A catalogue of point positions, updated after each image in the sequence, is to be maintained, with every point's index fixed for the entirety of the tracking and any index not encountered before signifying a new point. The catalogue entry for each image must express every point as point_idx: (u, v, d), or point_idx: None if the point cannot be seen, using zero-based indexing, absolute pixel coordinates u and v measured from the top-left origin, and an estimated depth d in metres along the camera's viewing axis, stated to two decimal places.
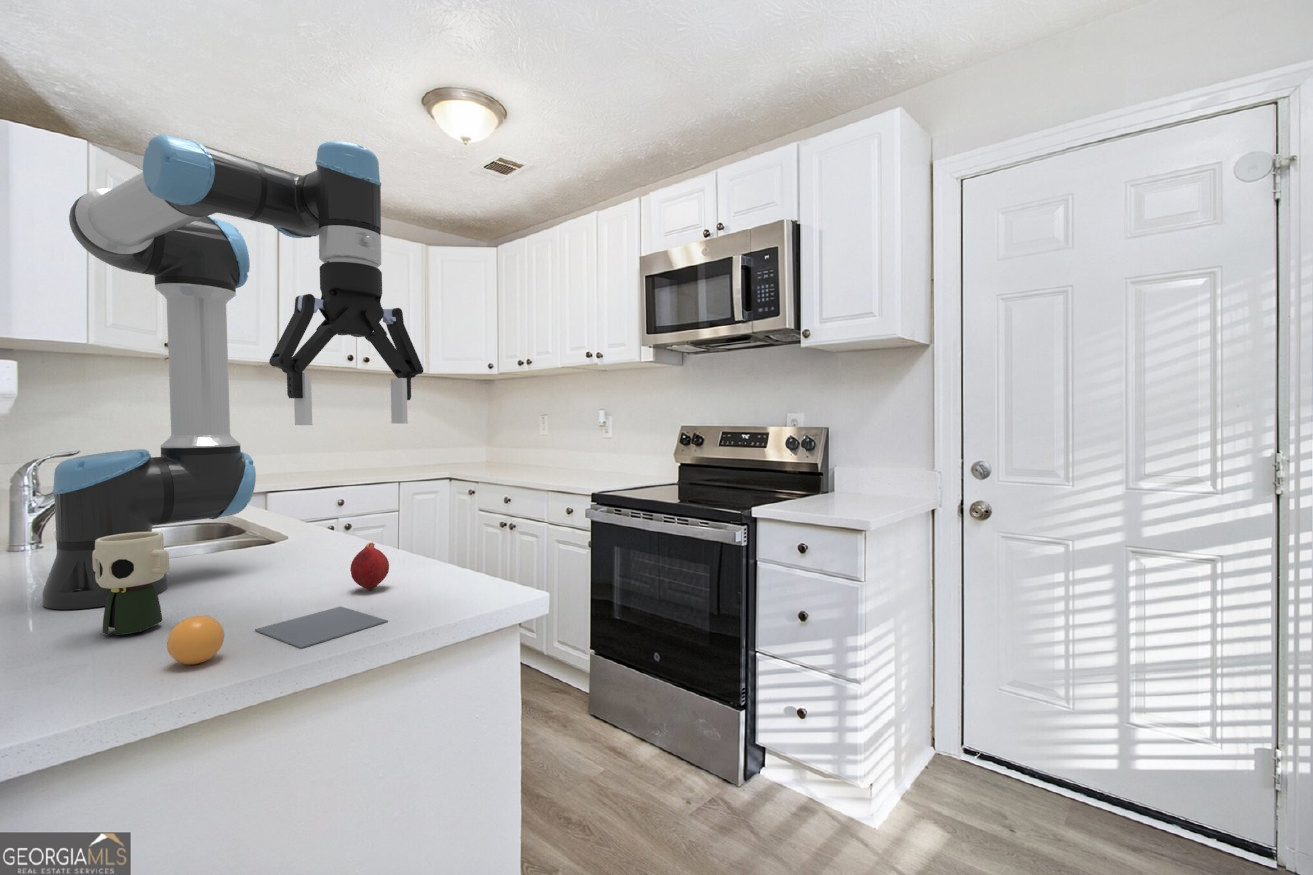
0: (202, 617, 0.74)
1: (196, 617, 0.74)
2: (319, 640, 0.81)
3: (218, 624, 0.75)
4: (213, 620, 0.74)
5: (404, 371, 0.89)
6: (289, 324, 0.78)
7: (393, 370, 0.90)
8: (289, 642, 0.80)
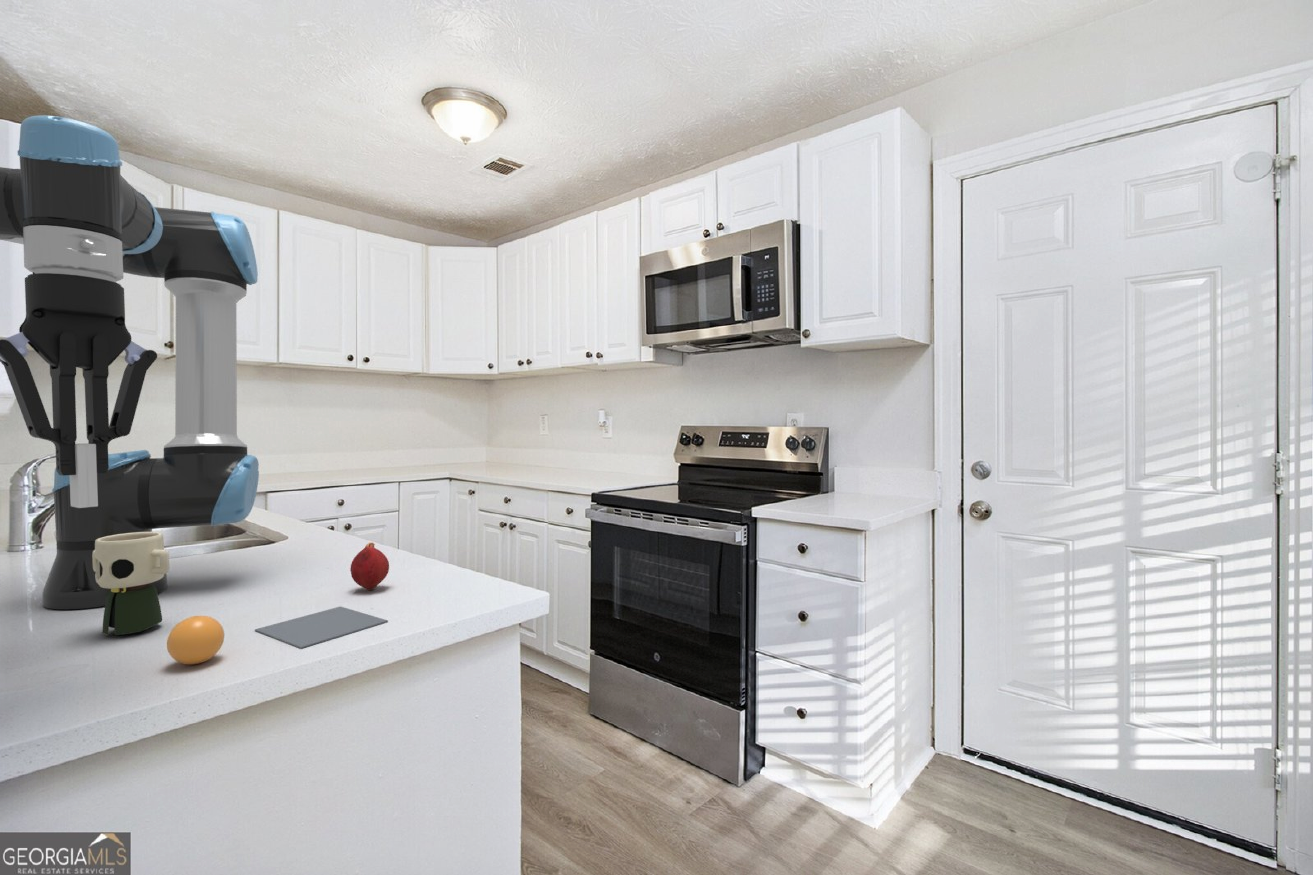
0: (202, 617, 0.74)
1: (196, 617, 0.74)
2: (319, 640, 0.81)
3: (218, 624, 0.75)
4: (213, 620, 0.74)
5: (96, 430, 0.65)
6: (12, 383, 0.61)
7: (87, 426, 0.66)
8: (289, 642, 0.80)
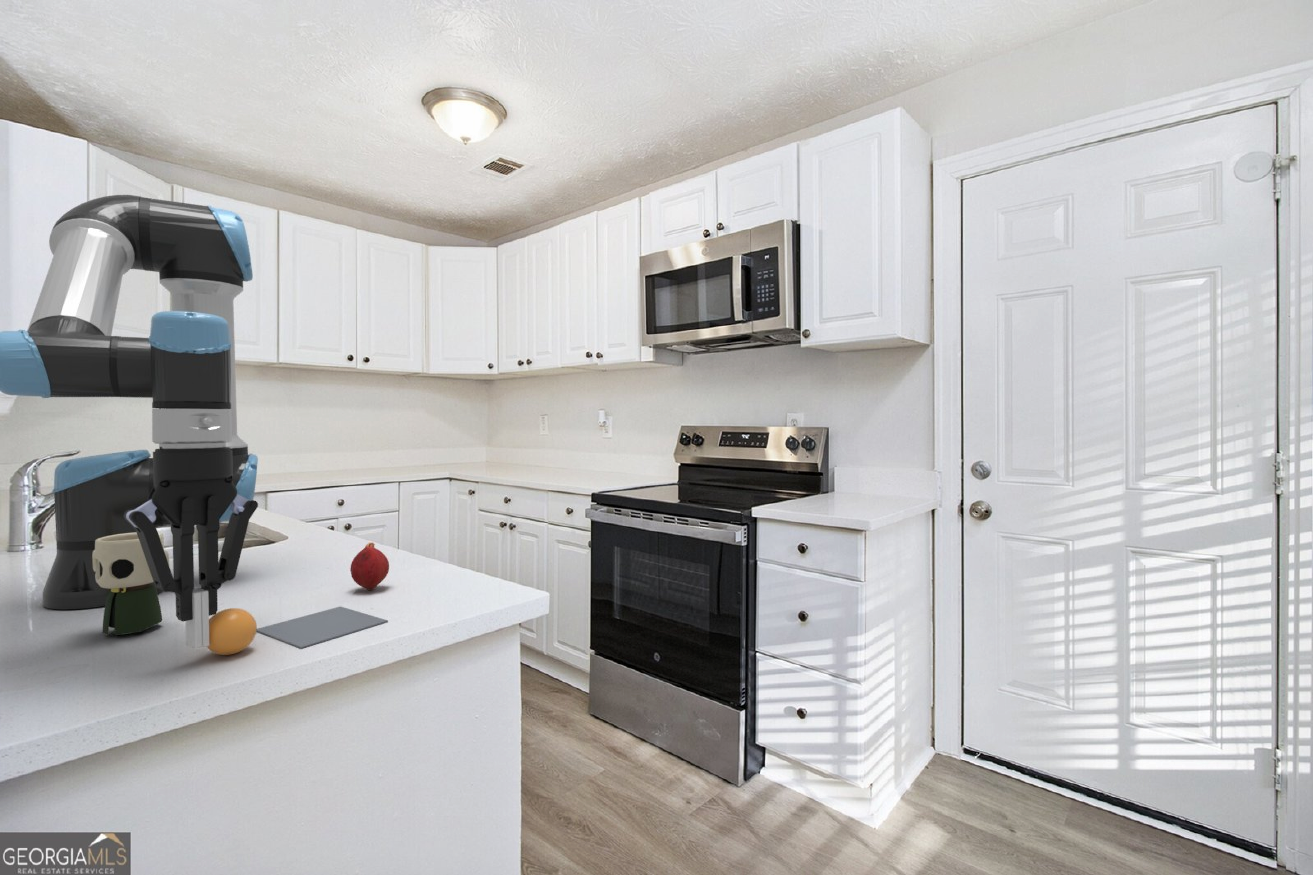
0: (250, 614, 0.78)
1: (246, 611, 0.78)
2: (319, 640, 0.81)
3: (256, 627, 0.78)
4: (255, 621, 0.78)
5: (208, 578, 0.74)
6: (142, 545, 0.70)
7: (200, 573, 0.75)
8: (289, 642, 0.80)
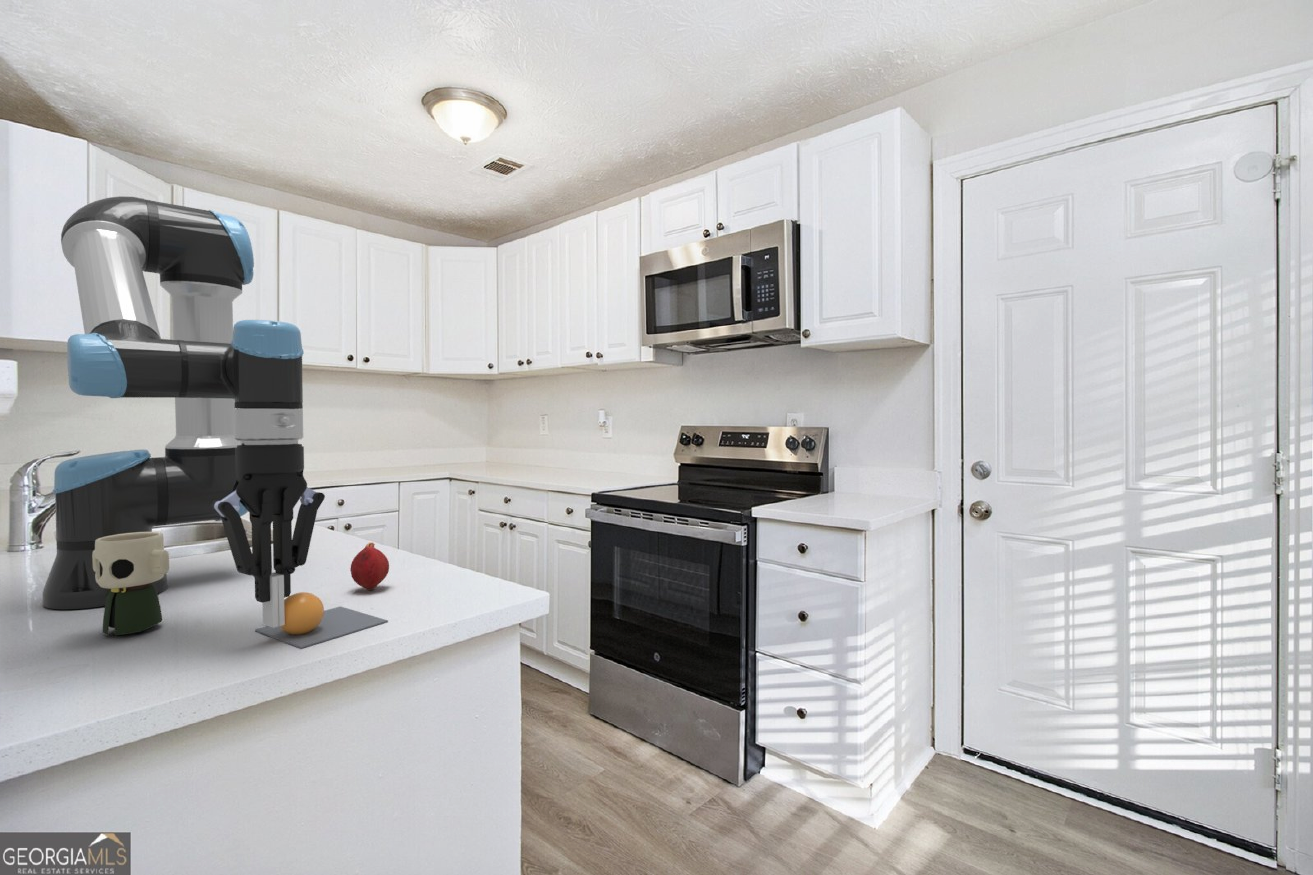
0: None
1: None
2: (319, 640, 0.81)
3: None
4: (318, 624, 0.85)
5: (284, 563, 0.81)
6: (227, 533, 0.77)
7: (274, 559, 0.82)
8: (289, 642, 0.80)
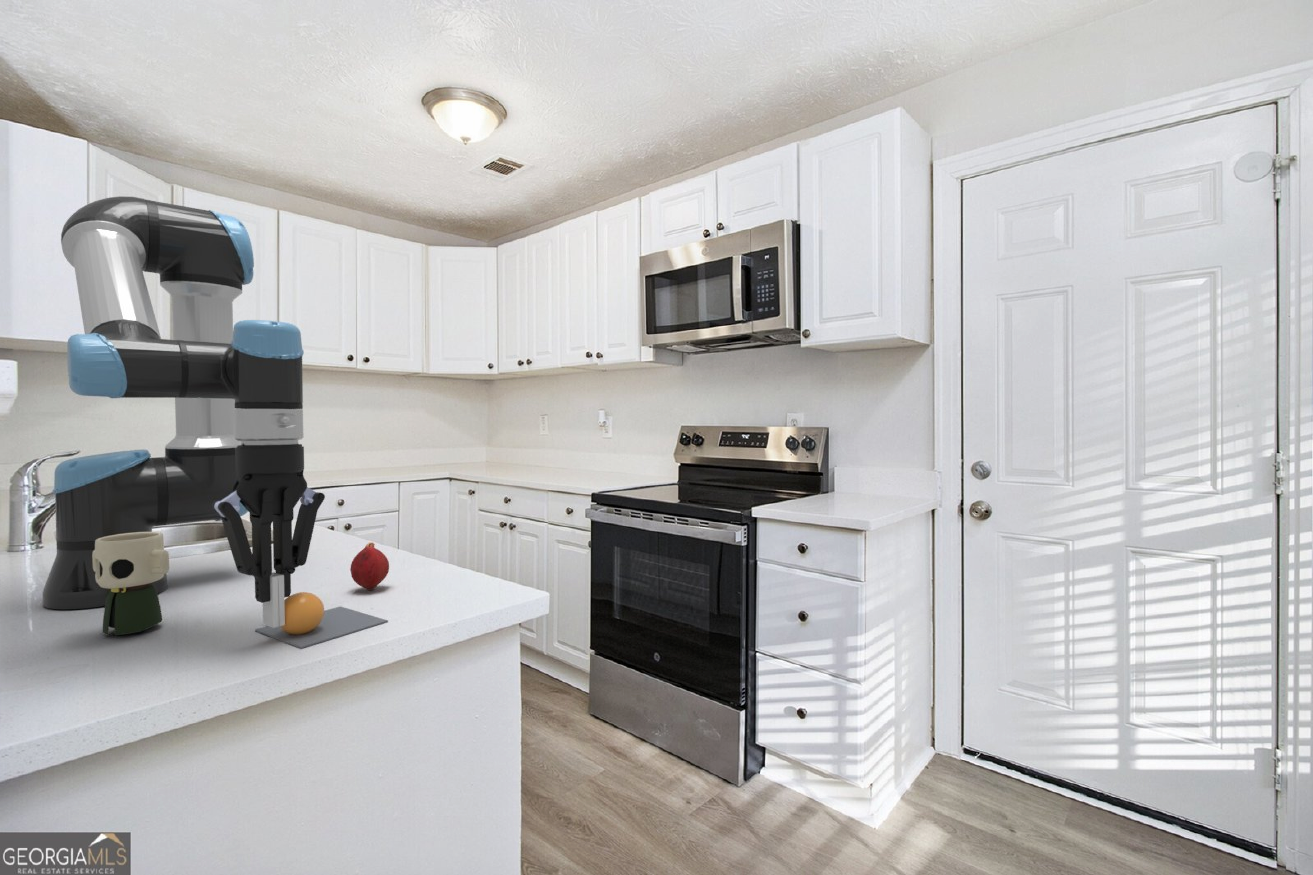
0: None
1: None
2: (319, 640, 0.81)
3: None
4: (318, 623, 0.85)
5: (284, 563, 0.81)
6: (227, 533, 0.77)
7: (275, 559, 0.82)
8: (289, 642, 0.80)
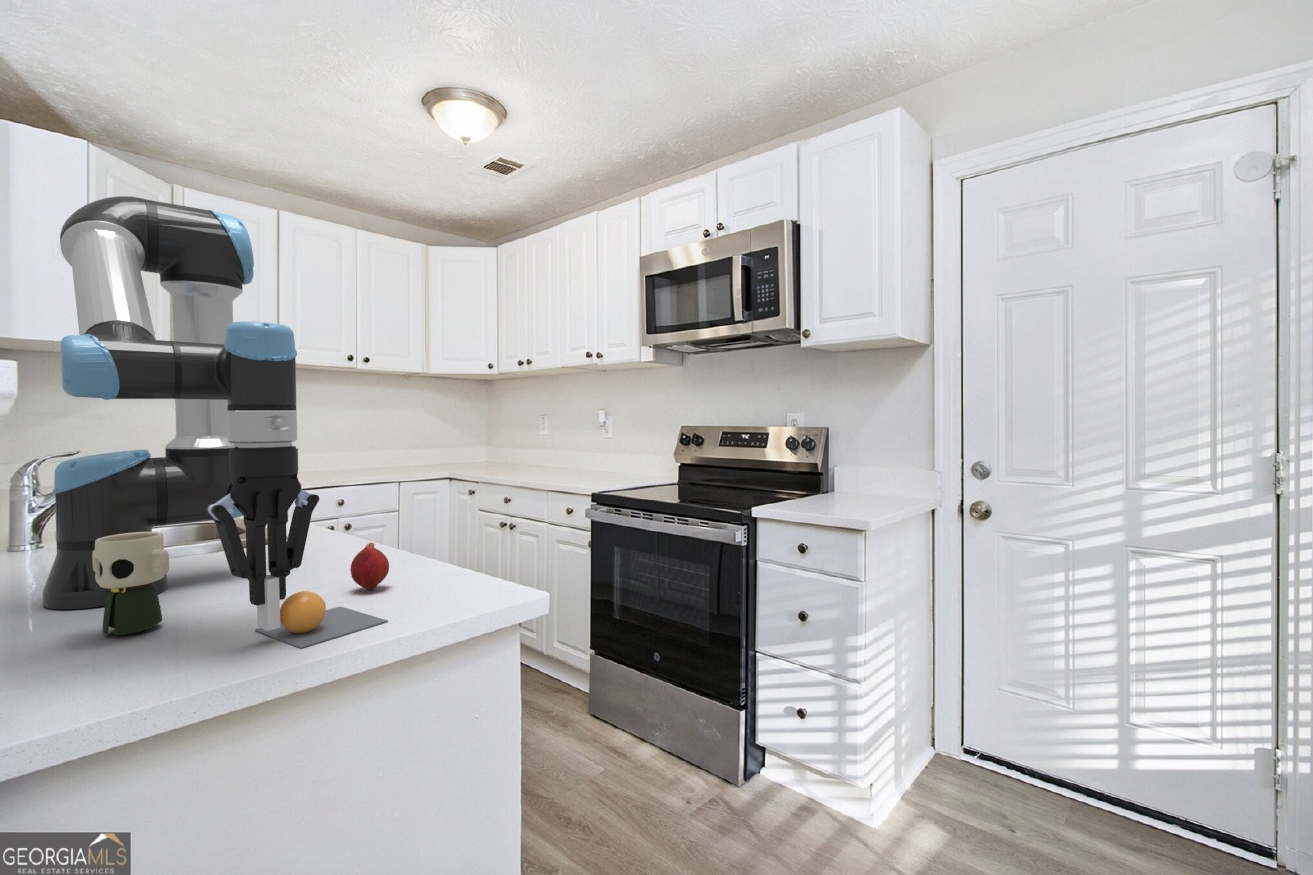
0: None
1: None
2: (319, 640, 0.81)
3: (315, 627, 0.84)
4: (319, 624, 0.85)
5: (279, 566, 0.80)
6: (221, 536, 0.77)
7: (269, 561, 0.81)
8: (289, 642, 0.80)
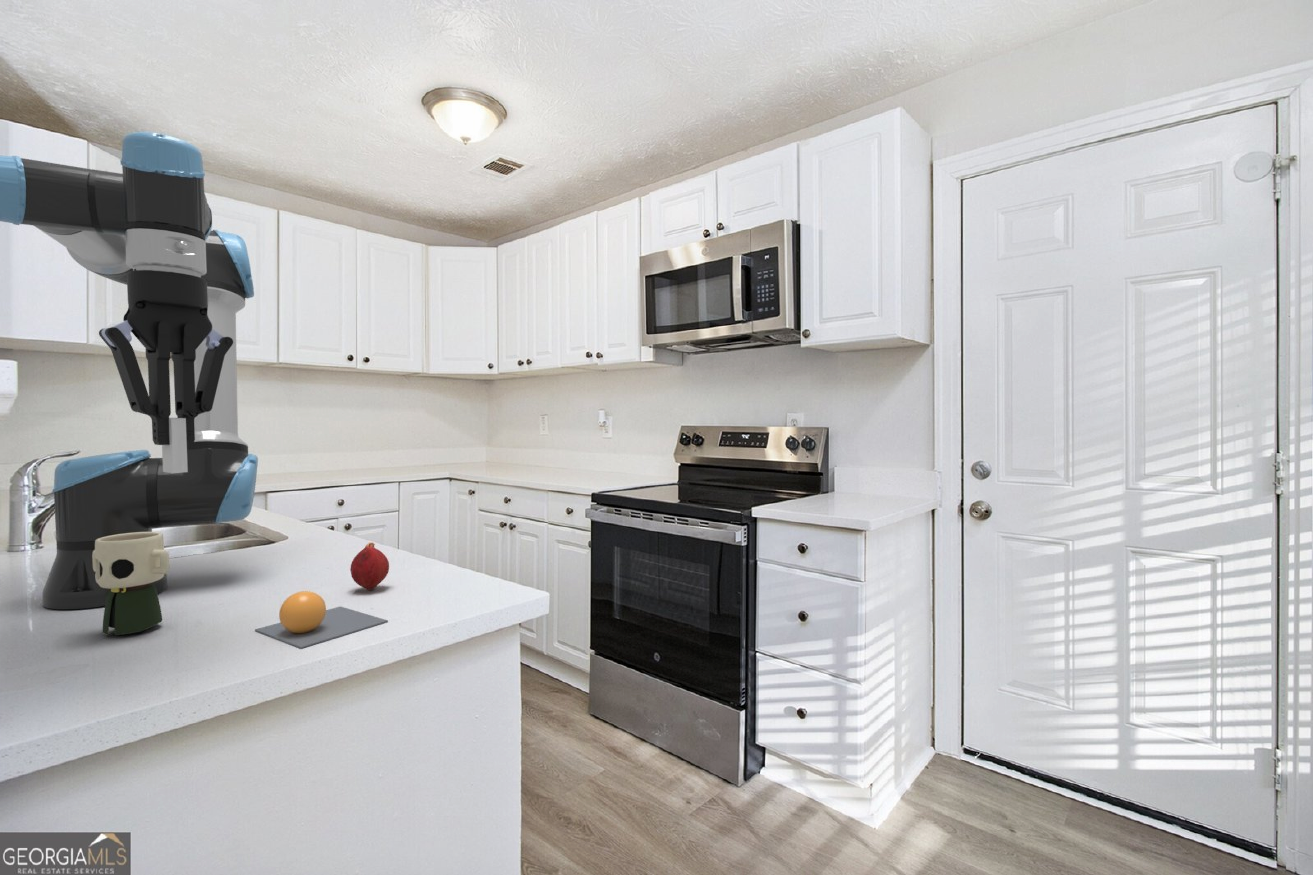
0: None
1: None
2: (319, 640, 0.81)
3: (315, 627, 0.84)
4: (319, 624, 0.85)
5: (186, 406, 0.75)
6: (118, 365, 0.71)
7: (176, 403, 0.76)
8: (289, 642, 0.80)
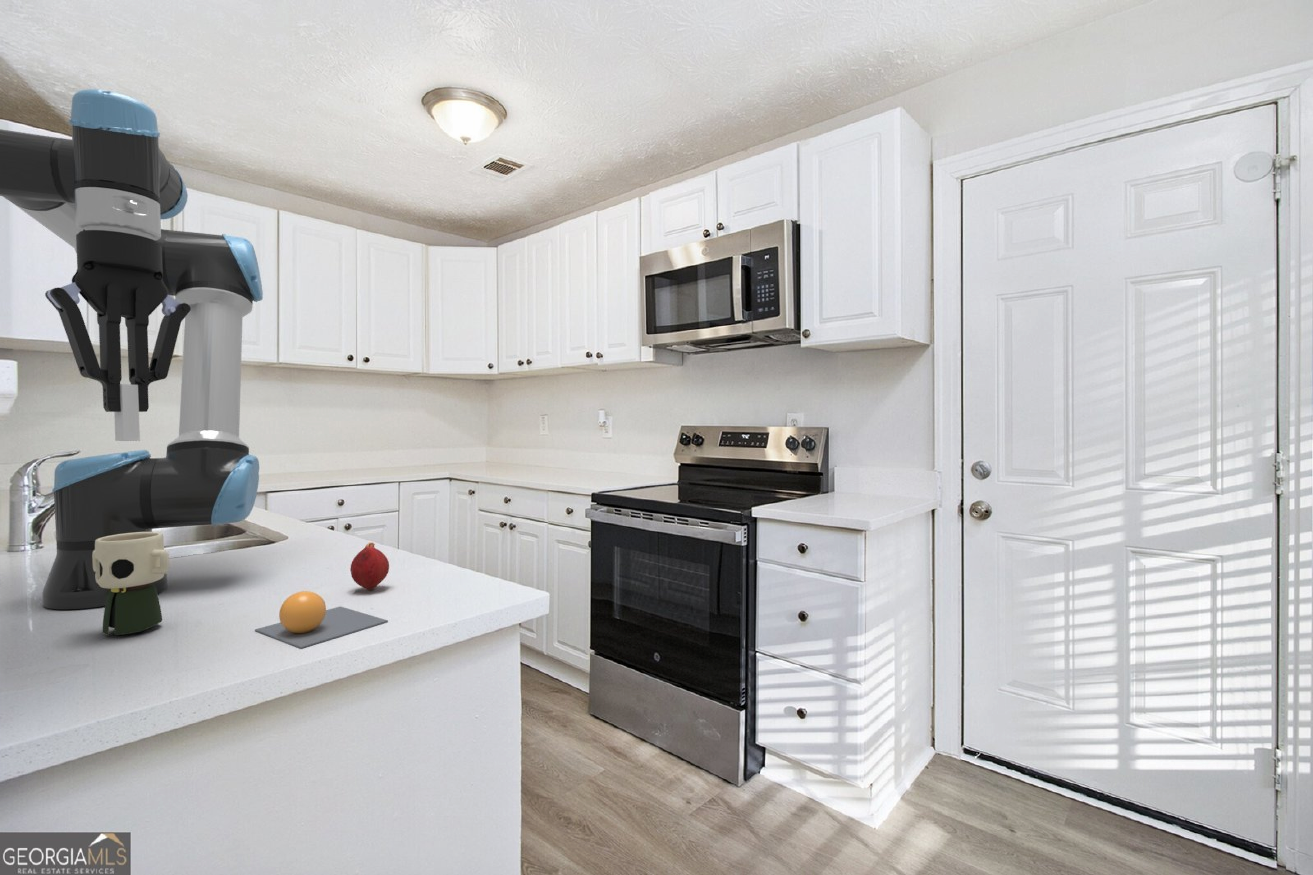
0: None
1: None
2: (319, 640, 0.81)
3: (315, 627, 0.84)
4: (319, 624, 0.85)
5: (138, 372, 0.73)
6: (65, 328, 0.69)
7: (130, 370, 0.74)
8: (289, 642, 0.80)
